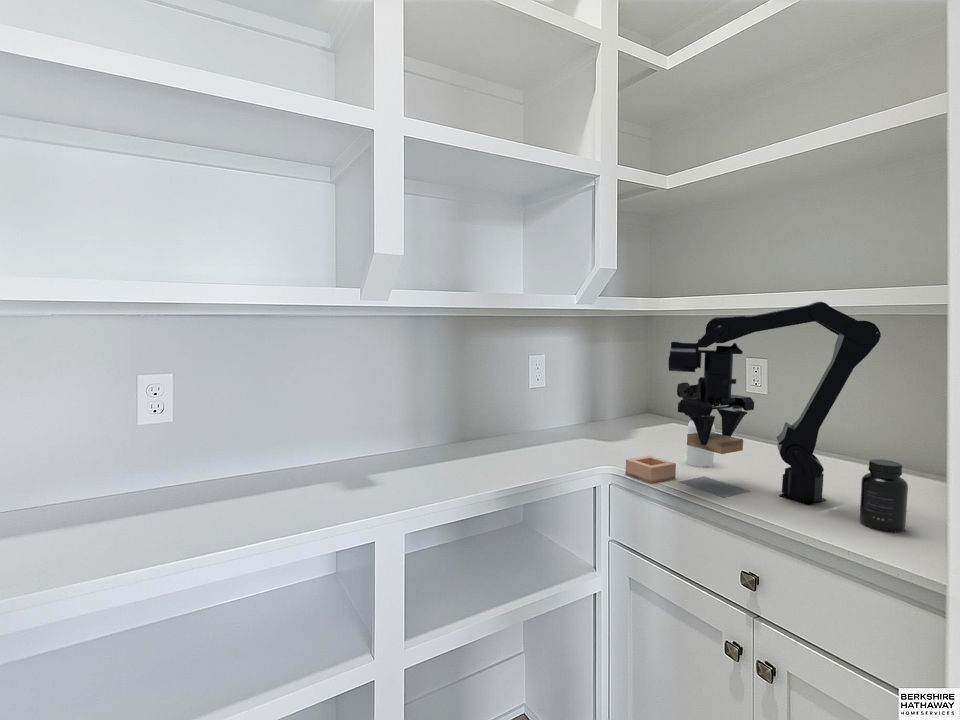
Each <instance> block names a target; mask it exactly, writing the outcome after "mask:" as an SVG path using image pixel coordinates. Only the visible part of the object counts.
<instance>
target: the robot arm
mask: <svg viewBox="0 0 960 720" xmlns="http://www.w3.org/2000/svg"><path fill="white" fill-rule="evenodd" d="M813 322H815V323H816V324H819V325H820V326H822V327H824V328H825V329H827V330H828V331H830V332H831V333H833V334H836V336H837V337H836V340H835V344H834V349H833V353H832V357H831V360H830V362H829V364H828V366H827V368H826V369H825V371H824V373H823V375H822V377H821V378H820V379H819V382H818V384H817V386H816V387H815V388H814V391H813V393H812V395H811V396H810V398H809V400H808V402H807V403H806V405H805V407H804V408H803V410H802V413H801V414H800V416H799V417H798V419H797V420H796V421H794V422H793V424H791V423H788V422H787V421H786V422H784V423H783V424H784V425H783V428H782V431H781V432H780V434H778V435H777V436H776V441H777V450H778V453H779V456H780V458H781V460H782V461H783V462H784V463H785V464H787V465H788V467H785V468H784V473H783V474H782V478H781V481H782V483H781V494H778V496H779V497H780V498H783V499H787V500H788V501H789V500H790V501H793V502H796V503H798V504H803V505H806V506H813V505H816V504H817V505H818V504H821V503H823V502H824V503H825V502H826V501H827V499H826V498H825V497H823V490H824V489H823V488H824V476H825V475H824V470H825V468H824V466H823V464H822V463H821V461H820V460H819V459H818V457H817V456H816V455H815V454H814V451H815V449H816V446H817V441H818V436H819V431H820V428H821V426H822V424H823V423H824V421H825V420H826V418H827V416H828V415H829V413H830V411H831V409H832V407H833V406H834V404H835V402H836V400H837V398H838V397H839V395H840V393H841V392H842V390H843V388H844V387H845V384H846V383H847V381H848V379H849V377H850V376H851V374H852V373H853V370H854V369H855V368H856V367H857V366H858V365H859V364H860V363H861V362H862V361H863V360H864V359H866V357H867V356H868V355H869V354H870V353H871V352H872V351H873V349H874V348H875V347H876V346H877V344H878V343H879V341H880V339H881V337H882V336H881V335H882V334H881V331H880V329H879V327H878V326H877V325H876V324H875V323H873V322H872V321H869V320H859V319H858V320H857V319H855V318H853V317H851V316H849V315H847V314H846V313H844V312H841V311H839V310H838V309H835V308H834V307H831V306H830V305H829V304H828V303H826V302H823V301H816V302H812V303H810V304H807V305H800V306H796V307H791V308H786V309H781V310H775V311H770V312H765V313H759V314H755V315H740V316H739V315H736V316H734V315H733V316H718V317H713V318H712V319H710V320H709V321H708V323H707V324H706V326H705V333H704V334H703V336H702V337H701V338H698V339H697V342H681V341H671V342H670V351H669V356H668V371H669V372H677V373H679V372H680V373H681V372H682V373H696V370H697V369H702V361H703V360H702V358H703V356H702V355H703V354H704V366H703V376H701V377H699V378H698V379H697V380H698V381H697V384H692V385H691V384H689V383H688V382H680V383H677V387H676V395H677V396H678V398H680V399H681V400H679V401H678V403H677V413H680V414H684V415H685V416H687V417H689V418H691V419H692V420H693V422H694V424H695V427H696V430H697V433H698V436H699V439H700V443H701V444H702V445H706V444H707V442H708V439H709V436H710V432H711V429H712V426H713V424H714V422H715V418H716V416H715V415H712V412H713V410H717V412H718V414H719V416H720V417H721V434H722V435H727V436H731V437H733V436H732V435H733V434H734V432H735V431H736V429H737V427H738V426H739V424H740V423H741V421H742V420H743V418H744V417H745V415H747V414H748V411H754V410H755V400H754V399H752V397H751V396H745V395H738V394H732V387H733V384H734V385H736V384H737V378H733V367H734V355H742V354H743V353H744V352H743V349H741V348H740V347H739V346H738V344H737V343H736V342H733V343H732V345H716V348H715V349H705V348H708V347H710V346H712V345H713V344H725V343H729V342H730V341H733V340H736V339H739V338H742V337H745V336H747V335H750V334H753V333H757V332H762V331H767V330H768V331H769V330H774V329H780V328H786V327H791V326H796V325H800V324H801V325H802V324H807V323H813ZM700 348H704V349H700Z"/></svg>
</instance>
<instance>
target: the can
mask: <svg viewBox="0 0 960 720" xmlns="http://www.w3.org/2000/svg"><path fill="white" fill-rule="evenodd" d="M689 418H690V417H689ZM711 432H714V433H716V428H715V423H713V426H712V429H711ZM692 433H697V430H696V427H695V424H694V422H693V420H692V419H691V418H690V419H689V422H688V424H687V433H686V435H687V434H692ZM714 453H715V452H712V451H708V450H704V449H700V448H697V447H693V446H689V445H687V444H686V460H685V461H686V464H687V465H689V466H693V467H696V468H697V467H698V468H711V467H713V466H714V457H715V455H714Z"/></svg>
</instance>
